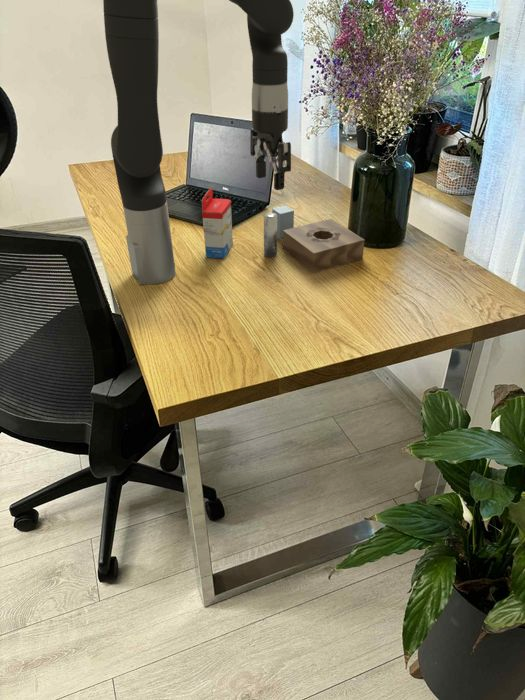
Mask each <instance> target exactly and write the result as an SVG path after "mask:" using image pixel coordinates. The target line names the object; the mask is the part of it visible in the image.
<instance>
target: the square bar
mask: <svg viewBox="0 0 525 700" xmlns="http://www.w3.org/2000/svg"><path fill="white" fill-rule="evenodd" d="M271 211H272V212H271V213H275V214H277V240H279V241H280V240H281V241H282V240H283V230H286V229H290V228H295V223H294V222H295V221H294V220H295V219H294V218H295V210H293V208H291V207H289V206H287V205H282V206H278V207H274V208H272V210H271Z"/></svg>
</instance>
